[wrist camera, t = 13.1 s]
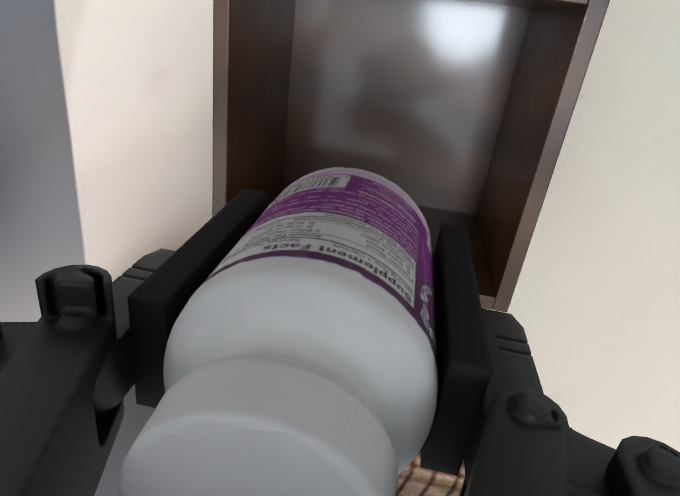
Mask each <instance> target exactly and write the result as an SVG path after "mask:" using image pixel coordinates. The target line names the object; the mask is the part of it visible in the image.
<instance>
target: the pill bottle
mask: <svg viewBox="0 0 680 496" xmlns="http://www.w3.org/2000/svg"><path fill="white" fill-rule="evenodd" d="M163 377H164V386H165V394H164V396H163V397H162V399H161V400H160V402H159V404H158V406H157V407H156V409H155V411H154V412H153V414H152V415H151V417H150V418H149V420H148V421H147V423H146V424H145V426H144V427H143V429H142V431H141V432H140V434H139V435H138V437H137V438H136V440H135V441H134V443H133V445H132V446H131V448H130V450H129V452H128V453H127V455H126V457H125V459H124V461H123V464H122V467H121V471H120V479H119V492H120V496H396V492H397V486H398V474H400V473H401V472H402V471H403V470H404V469H405V468H406V467H407V466H408V465H409V464H410V463H411V462H412V460H413V459H414V458H415V457H416V455H417V454H418V452H419V451H420V449H421V448H422V446H423V444H424V442H425V440H426V439H427V436H428V434H429V432H430V429H431V426H432V423H433V419H434V415H435V410H436V405H437V394H438V369H437V346H436V319H435V284H434V260H433V248H432V240H431V235H430V231H429V228H428V226H427V223H426V220H425V218H424V216H423V215H422V213H421V211H420V209H419V208H418V207H417V205H416V204H415V202H414V201H413V200H412V199H411V198H410V196H409V195H408V194H407V193H406V192H404V191H403V190H402V189H401V188H400V187H399V186H398V185H396V184H395V183H393V182H391V181H389V180H387V179H386V178H384V177H382V176H380V175H378V174H375V173H372V172H369V171H365V170H362V169H355V168H343V167H334V168H327V169H322V170H319V171H315V172H313V173H310V174H308V175H305V176H303V177H302V178H300V179H299V180H297V181H295V182H293V183H292V184H291V185H289V186H288V187H287V188H286V189H285V190H284V191H283V192H282V193H281V194H280V195H279V196H278V197H277V198H276V199H275V200H274V201H273V202H272V203H271V204H270V205H269V206H268V207H267V209H266V210H265V211H264V212H263V214H262V215H261V216H260V217H259V219H258V220H257V221H256V222H255V223H254V224H253V225H252V226H251V228H250V229H249V230H248V231H247V232H246V233H245V234H244V236H243V237H242V238H241V239H240V240H239V242H238V243H237V244H236V245H235V246H234V248H233V249H232V250H231V251H230V252H229V254H228V255H227V256H226V257H225V258H224V259H223V260H222V261H221V263H220V264H219V265H218V266H217V268H216V269H215V270H214V271H213V272H212V273H211V275H210V276H209V277H208V278H207V279H206V280H205V281H204V282H203V283H202V285H201V286H200V287H199V288H198V289H197V290H196V291H195V292H194V294H193V295H192V296H191V298H190V299H189V301H188V303H187V304H186V306H185V307H184V309H183V310H182V311H181V313H180V314H179V316H178V318H177V320H176V322H175V323H174V325H173V327H172V330H171V333H170V336H169V338H168V341H167V346H166V351H165V356H164V366H163Z"/></svg>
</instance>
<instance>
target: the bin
mask: <svg viewBox="0 0 680 496" xmlns="http://www.w3.org/2000/svg"><path fill="white" fill-rule="evenodd" d="M609 2H610V0H213V217H214V216H215V215H216V214H217V213H218V212H219V211H220V210H221V209H222V208H223V207H224V206H225V205H226V204H227V203H229V202H230V201H231V200H232V199H233V198H234V197H235V196H236V195H237V194H238V193H239V192H240V191H241V190H242V189H250V190H256V191H261V192H267V205H266V209H267V207H268V206H269V205H270V204H271V203H272V202H273V201H274V200H275V199H276V198H277V197H278V196H279V195H280V194H281V193H282V192H283V191H284V190H285V189H286V188H287V187H288V186H289V185H291V184H292V183H293V182H295V181H297V180H299V179H300V178H302V177H303V176H305V175H308V174H310V173H313V172H315V171H319V170H322V169H327V168H334V167H343V168H355V169H362V170H365V171H369V172H372V173H375V174H378V175H380V176H382V177H384V178H386V179H387V180H389V181H391V182H393V183H395V184H396V185H398V186H399V187H400V188H401V189H402V190H403V191H404V192H406V193H407V194H408V195H409V196H410V198H411V199H412V200H413V201H414V202H415V204H416V205H417V207H418V208H419V209H420V211H421V213H422V215H423V216H424V218H425V220H426V223H427V226H428V228H429V231H430V235H431V240H432V248H433V256H434V252H435V248H436V243H437V239H438V235H439V231H440V226H441V223H443V224H448V225H454V226H460V227H465V228H467V232H468V238H469V243H470V248H471V254H472V259H473V265H474V270H475V276H476V281H477V286H478V292H479V297H480V303H481V308H485V309H490V310H492V309H493V310H496V311H502V312H507V311H508V308H509V305H510V302H511V299H512V296H513V293H514V289H515V286H516V283H517V280H518V277H519V274H520V271H521V268H522V265H523V262H524V259H525V256H526V253H527V250H528V247H529V244H530V241H531V238H532V235H533V232H534V229H535V226H536V223H537V220H538V217H539V214H540V211H541V208H542V205H543V202H544V199H545V196H546V192H547V189H548V186H549V183H550V180H551V177H552V174H553V171H554V168H555V165H556V162H557V159H558V156H559V153H560V150H561V147H562V144H563V141H564V138H565V135H566V132H567V129H568V126H569V123H570V120H571V117H572V114H573V111H574V108H575V105H576V102H577V99H578V96H579V92H580V89H581V86H582V83H583V80H584V77H585V74H586V71H587V68H588V65H589V62H590V59H591V56H592V53H593V50H594V47H595V44H596V41H597V38H598V35H599V32H600V29H601V26H602V23H603V20H604V17H605V14H606V11H607V8H608V5H609Z"/></svg>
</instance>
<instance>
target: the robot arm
mask: <svg viewBox="0 0 680 496" xmlns="http://www.w3.org/2000/svg"><path fill="white" fill-rule="evenodd" d="M266 205H267V192H261V191H256V190H250V189H242V190H241V191H240V192H239V193H238V194H237V195H236V196H235V197H234V198H233V199H232V200H231V201H230V202H229V203H227V204H226V205H225V206H224V207H223V208H222V209H221V210H220V211H219V212H218V213H217V214H216V215H215V216H214V217H212V218H211V219H210V220H209V221H208V222H207V223H206V224H205V225H204V226H203V227H202V228H201V229H200V230H198V231H197V232H196V233H195V234H194V235H193V236H192V237H191V238H190V239H189V240H188V241H187V242H186V243H185V244H183V245H182V246H181V247H180V248H179V249H178V250H177V251H171V250H166V249H160V250H157V251H155V252H152V253H150V254H147V255H145V256H143V257H142V258H141V259H140V260H138V261H137V262H136V263H135V264H134V265H133V266H132V268H129V269H128V270H127V271H125V272H124V273H123V274H122V276H119V277H118V278H117V279H116V280H115V281H114V282H112V279H111V276H110V274H109V273H108V271H107V270H104V269H102V268H100V267H97V266H91V265H70V266H64V267H60V268H56V269H53V270H51V271H48V272H46V273H43V274H42V275H41V276H40V277H38V278H37V279H36V280H35V283H36V288H37V294H38V299H39V305H40V310H41V315H42V317H41V318H40V319H39V321H38V322H0V496H120V492H119V479H120V471H121V467H122V464H123V461H124V459H125V457H126V455H127V453H128V452H129V450H130V448H131V446H132V445H133V443H134V441H135V440H136V438H137V437H138V435H139V434H140V432H141V431H142V429H143V427H144V426H145V424H146V423H147V421H148V420H149V418H150V417H151V415H152V414H153V412H154V411H155V409H156V407H157V406H158V404H159V402H160V400H161V399H162V397H163V396H164V394H165V386H164V377H163V366H164V356H165V351H166V346H167V341H168V338H169V336H170V333H171V330H172V327H173V325H174V323H175V322H176V320H177V318H178V316H179V314H180V313H181V311H182V310H183V309H184V307H185V306H186V304H187V303H188V301H189V299H190V298H191V296H192V295H193V294H194V292H195V291H196V290H197V289H198V288H199V287H200V286H201V285H202V283H203V282H204V281H205V280H206V279H207V278H208V277H209V276H210V275H211V273H212V272H213V271H214V270H215V269H216V268H217V266H218V265H219V264H220V263H221V261H222V260H223V259H224V258H225V257H226V256H227V255H228V254H229V252H230V251H231V250H232V249H233V248H234V246H235V245H236V244H237V243H238V242H239V240H240V239H241V238H242V237H243V236H244V234H245V233H246V232H247V231H248V230H249V229H250V228H251V226H252V225H253V224H254V223H255V222H256V221H257V220H258V219H259V217H260V216H261V215H262V214H263V212H264V211H265V210H266ZM433 260H434V284H435V319H436V346H437V369H438V394H437V405H436V410H435V415H434V419H433V423H432V426H431V429H430V432H429V434H428V436H427V439H426V440H425V442H424V444H423V446H422V448H421V462H420V467H422V468H426V469H431V470H435V471H440V472H444V473H449V474H453V475H457V476H458V473H459V470H460V467H461V464H462V461H463V458H464V465H465V480H464V482H463V485H462V488H461V491H460V494H459V496H680V452H678V451H676V450H675V449H673V448H671V447H670V446H668V445H666V444H664V443H662V442H659V441H656V440H653V439H651V438H648V437H639V436H631V437H628V438H625V439H622V441H621V442H620V444H619V446H618V447H617V449H616V450H615V449H613V448H611V447H609V446H606V445H604V444H602V443H599V442H597V441H595V440H593V439H590V438H588V437H586V436H584V435H582V434H580V433H578V432H576V431H574V430H573V429H572V428H570V427H569V425H568V421H567V417H566V415H565V413H564V412H563V411H562V409H561V408H560V407H559V405H557V404H556V403H555V402H554V401H552V400H551V399H550V398H549V397H547V396H546V395H544V393H543V390H542V387H541V383H540V380H539V377H538V374H537V370H536V367H535V364H534V361H533V357H532V356H531V351H530V348H529V344H527V342H528V341H527V338H526V335H525V331H524V328H523V327H522V326H521V325H520V323H519V322H518V321H517V320H516V319H515V318H514V317H513V316H512V315H511V314H508V313H503V312H498V311H493V310H487V309H482V308H481V303H480V297H479V292H478V286H477V281H476V276H475V270H474V265H473V259H472V254H471V248H470V243H469V238H468V232H467V228H465V227H460V226H454V225H448V224H443V223H441V226H440V231H439V235H438V239H437V243H436V248H435V252H434V256H433Z"/></svg>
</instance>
